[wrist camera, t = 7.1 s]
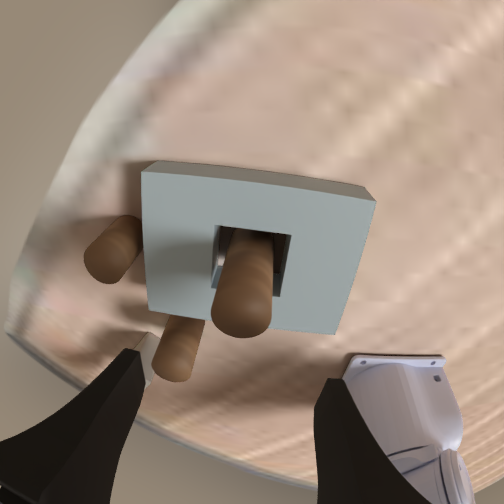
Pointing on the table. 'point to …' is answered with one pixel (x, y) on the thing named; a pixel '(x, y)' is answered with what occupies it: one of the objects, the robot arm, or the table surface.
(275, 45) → the table surface
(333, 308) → the socket block
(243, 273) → the tall dowel
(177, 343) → the medium dowel
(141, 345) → the lighter
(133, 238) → the short dowel
